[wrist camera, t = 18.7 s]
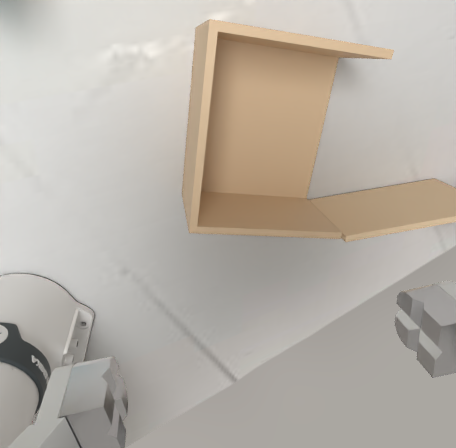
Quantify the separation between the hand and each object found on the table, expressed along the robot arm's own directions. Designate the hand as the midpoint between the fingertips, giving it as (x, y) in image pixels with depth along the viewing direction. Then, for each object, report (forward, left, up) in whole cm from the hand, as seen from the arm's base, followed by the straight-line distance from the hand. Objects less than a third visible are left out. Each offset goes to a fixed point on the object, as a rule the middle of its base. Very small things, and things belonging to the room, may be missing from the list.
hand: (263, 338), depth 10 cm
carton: (0, -10, -39) cm, 40 cm away
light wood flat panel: (-8, -29, -39) cm, 49 cm away
